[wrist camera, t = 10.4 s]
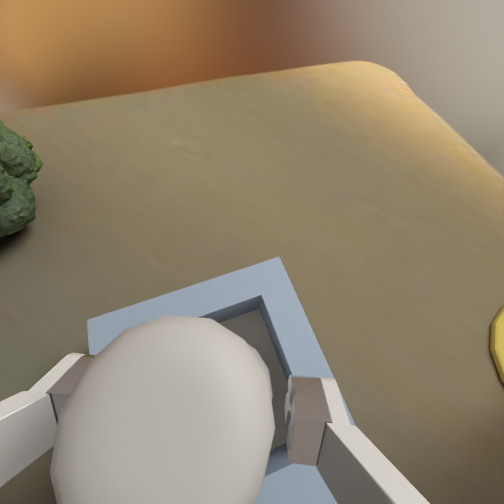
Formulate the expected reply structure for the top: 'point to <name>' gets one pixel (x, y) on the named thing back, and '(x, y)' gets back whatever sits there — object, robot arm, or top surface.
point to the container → (259, 337)
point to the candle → (498, 342)
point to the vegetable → (16, 181)
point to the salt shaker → (166, 419)
